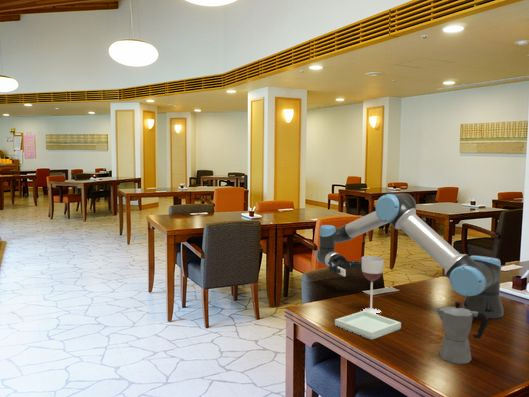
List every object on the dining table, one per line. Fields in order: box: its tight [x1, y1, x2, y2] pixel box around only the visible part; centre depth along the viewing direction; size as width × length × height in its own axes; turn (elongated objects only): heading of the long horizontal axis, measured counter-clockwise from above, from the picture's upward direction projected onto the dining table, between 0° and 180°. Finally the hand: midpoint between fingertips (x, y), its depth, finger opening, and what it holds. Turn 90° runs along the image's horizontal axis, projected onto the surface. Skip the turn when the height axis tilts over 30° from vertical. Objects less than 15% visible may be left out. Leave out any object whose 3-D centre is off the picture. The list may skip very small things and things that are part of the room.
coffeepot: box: [434, 301, 490, 365], centre depth 143 cm, size 15×9×18 cm, turn 66°
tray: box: [334, 310, 402, 340], centre depth 170 cm, size 17×17×2 cm
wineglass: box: [360, 255, 384, 314], centre depth 188 cm, size 9×10×22 cm
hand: (359, 272), depth 197 cm, fingers open, 13 cm apart
